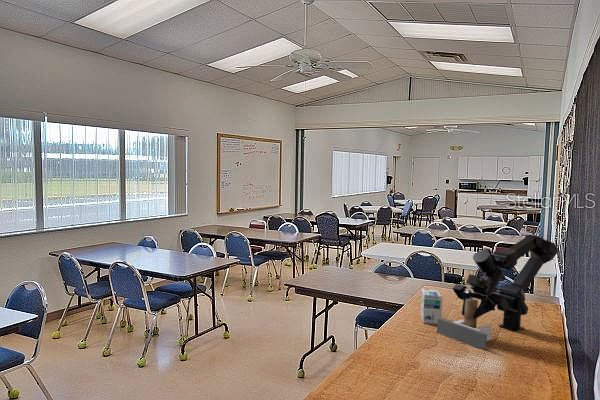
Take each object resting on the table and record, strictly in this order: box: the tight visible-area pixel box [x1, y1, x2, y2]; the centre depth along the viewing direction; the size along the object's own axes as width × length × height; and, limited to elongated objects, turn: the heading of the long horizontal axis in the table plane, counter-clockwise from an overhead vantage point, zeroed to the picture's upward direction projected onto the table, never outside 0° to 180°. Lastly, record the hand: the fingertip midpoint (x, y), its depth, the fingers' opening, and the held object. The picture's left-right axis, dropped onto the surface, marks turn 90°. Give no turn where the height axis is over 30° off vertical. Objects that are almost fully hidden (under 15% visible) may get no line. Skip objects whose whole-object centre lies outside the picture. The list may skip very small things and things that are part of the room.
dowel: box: [463, 298, 479, 328], centre depth 157 cm, size 4×4×12 cm
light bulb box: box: [420, 288, 443, 325], centre depth 176 cm, size 11×7×11 cm, turn 170°
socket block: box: [453, 318, 493, 342], centre depth 157 cm, size 9×10×4 cm
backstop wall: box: [436, 317, 488, 350], centre depth 154 cm, size 2×18×5 cm, turn 35°
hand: (468, 316), depth 156 cm, fingers closed on dowel, 4 cm apart
